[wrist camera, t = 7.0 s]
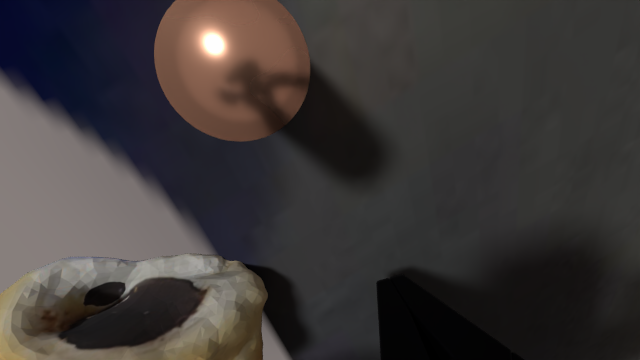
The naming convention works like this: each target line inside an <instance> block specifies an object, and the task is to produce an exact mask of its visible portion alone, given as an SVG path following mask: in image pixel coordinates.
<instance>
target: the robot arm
mask: <svg viewBox="0 0 640 360" xmlns="http://www.w3.org/2000/svg"><path fill="white" fill-rule="evenodd" d="M377 302H378V319H379V336H380V353H381V360H524V359H523V358H521V357H520V356H518V355H517V354H516V353H514V352H513V353H511V350H510V349H508V348H507V347H505V346H504V345H503V344H501V343H500V342H498V341H497V340H495V339H494V338H493V337H491V336H490V335H488V334H487V333H486V332H484V331H483V330H481V329H480V328H478V327H477V326H476V325H474V324H473V323H471V322H470V321H468V320H467V319H466V318H464V317H463V316H461V315H460V314H459V313H457V312H456V311H454V310H453V309H451V308H450V307H449V306H447V305H446V304H444V303H443V302H442V301H440V300H439V299H437V298H436V297H434V296H433V295H432V294H430V293H429V292H427V291H426V290H424V289H423V288H422V287H420V286H419V285H417V284H416V283H415V282H413V281H412V280H410V279H409V278H407V277H406V276H405V275H402V274H401V275H397V276H393V277H391V278H390V279H389V278H386V279H383V280H379V281H377Z"/></svg>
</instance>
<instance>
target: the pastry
mask: <svg viewBox="0 0 640 360" xmlns="http://www.w3.org/2000/svg"><path fill="white" fill-rule="evenodd" d="M267 298H268V293H267V291H266V289H265V286H264V283H263V281H262V279H261V278H260V277H259V276H258V275H256V274H255V273H254V272H253V271H251V270H249V269H247V267H246V266H245V265H244V264H243V263H241V262H239V261H227V260H225V259H223V258H222V257H220V256H217V255H202V254H184V255H176V256H163V257H158V258H153V259H147V260H143V261H127V260H122V259H115V258H102V257H68V258H64V259H61V260H58V261H56V262H53V263H51V264H48V265H45V266H43V267H41V268H38V269H36V270H33V271H31V272H28V273H27V274H25V275H24V276H22V277H21V278H20V279H19V280H18V281H17V282H15V283H14V284H13V285H11V286H10V287H9V288H7V289H6V290H5V291H4V292H2V293H1V294H0V360H263V352H262V349H263V340H262V333H261V325H262V311H263V307H264V304H265V302H266V300H267Z"/></svg>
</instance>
